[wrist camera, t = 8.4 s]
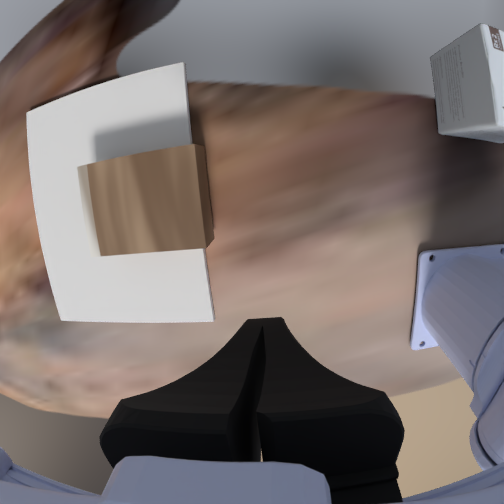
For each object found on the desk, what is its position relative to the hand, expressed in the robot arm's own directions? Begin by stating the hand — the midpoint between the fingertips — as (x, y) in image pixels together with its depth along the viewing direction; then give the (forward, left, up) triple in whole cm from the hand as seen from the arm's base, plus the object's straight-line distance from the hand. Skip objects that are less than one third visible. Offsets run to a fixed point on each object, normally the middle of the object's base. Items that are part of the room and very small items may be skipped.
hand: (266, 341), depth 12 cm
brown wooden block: (+4, -5, -9) cm, 11 cm away
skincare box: (-15, -11, -11) cm, 22 cm away
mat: (+11, -5, -10) cm, 16 cm away
